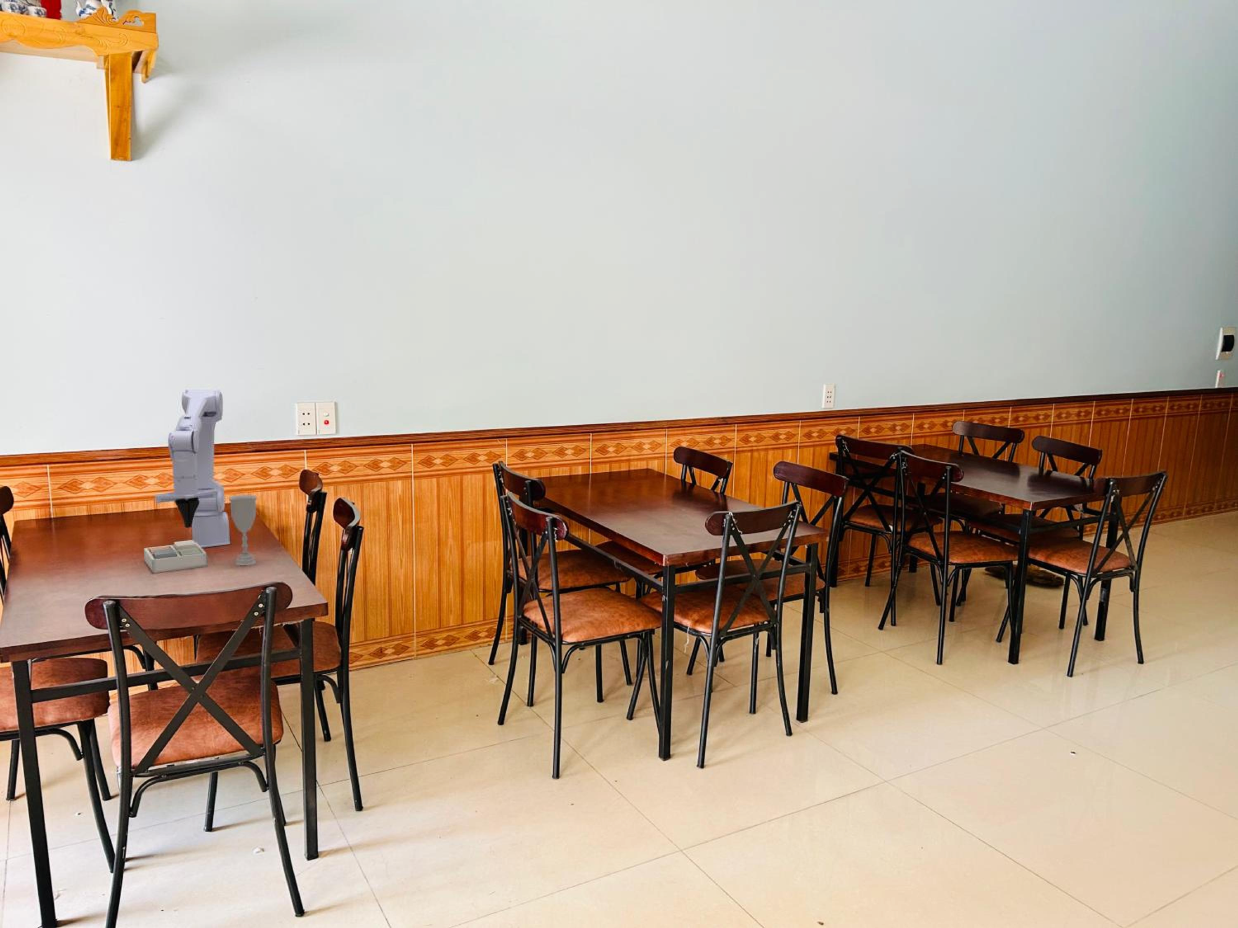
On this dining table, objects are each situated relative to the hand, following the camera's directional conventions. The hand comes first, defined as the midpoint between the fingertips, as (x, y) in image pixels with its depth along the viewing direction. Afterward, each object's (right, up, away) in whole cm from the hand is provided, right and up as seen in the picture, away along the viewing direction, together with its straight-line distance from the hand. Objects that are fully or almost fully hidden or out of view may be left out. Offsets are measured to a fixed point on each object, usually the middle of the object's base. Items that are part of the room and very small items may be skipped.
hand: (188, 526), depth 237 cm
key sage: (0, -9, +2) cm, 9 cm away
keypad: (-4, -10, +2) cm, 11 cm away
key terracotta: (-9, -9, +3) cm, 13 cm away
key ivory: (-4, -7, +6) cm, 10 cm away
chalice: (+13, -10, +5) cm, 17 cm away
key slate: (-5, -9, -2) cm, 10 cm away
